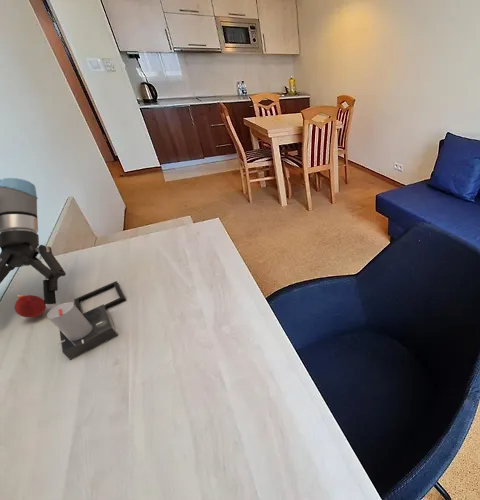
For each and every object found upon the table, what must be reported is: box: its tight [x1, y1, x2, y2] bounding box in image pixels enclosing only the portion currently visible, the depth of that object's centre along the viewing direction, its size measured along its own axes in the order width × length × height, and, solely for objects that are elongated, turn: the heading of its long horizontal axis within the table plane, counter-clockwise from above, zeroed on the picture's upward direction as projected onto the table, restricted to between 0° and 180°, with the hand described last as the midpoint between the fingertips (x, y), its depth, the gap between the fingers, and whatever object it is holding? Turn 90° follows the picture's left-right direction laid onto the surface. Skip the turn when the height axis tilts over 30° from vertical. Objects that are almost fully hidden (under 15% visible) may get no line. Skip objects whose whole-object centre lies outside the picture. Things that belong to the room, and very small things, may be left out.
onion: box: [14, 294, 47, 318], centre depth 83 cm, size 6×6×8 cm
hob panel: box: [56, 304, 119, 361], centre depth 77 cm, size 13×11×3 cm
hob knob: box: [46, 301, 93, 341], centre depth 72 cm, size 5×5×8 cm
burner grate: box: [73, 280, 127, 314], centre depth 88 cm, size 11×11×1 cm
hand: (21, 309), depth 80 cm, fingers open, 13 cm apart
